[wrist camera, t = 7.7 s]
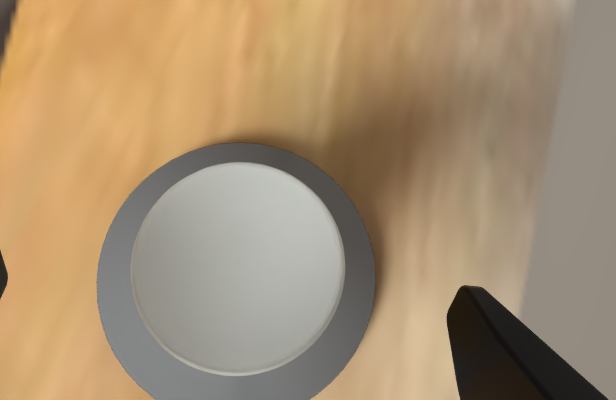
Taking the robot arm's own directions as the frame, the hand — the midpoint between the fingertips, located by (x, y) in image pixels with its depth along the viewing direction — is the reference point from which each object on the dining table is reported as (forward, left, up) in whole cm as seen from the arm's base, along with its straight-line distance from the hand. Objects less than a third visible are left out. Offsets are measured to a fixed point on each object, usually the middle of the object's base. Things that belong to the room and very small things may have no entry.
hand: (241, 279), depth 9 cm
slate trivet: (0, 0, -10) cm, 10 cm away
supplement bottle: (0, 0, -9) cm, 9 cm away
